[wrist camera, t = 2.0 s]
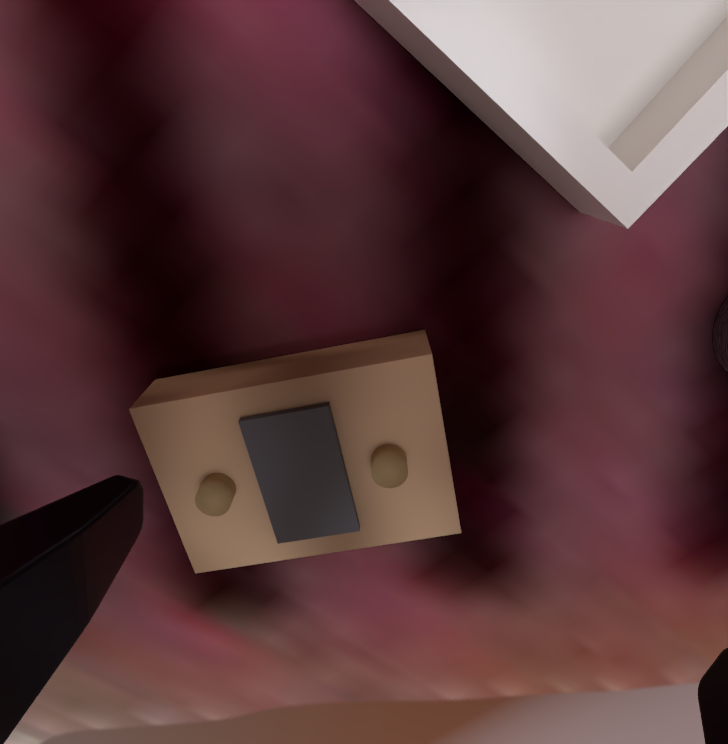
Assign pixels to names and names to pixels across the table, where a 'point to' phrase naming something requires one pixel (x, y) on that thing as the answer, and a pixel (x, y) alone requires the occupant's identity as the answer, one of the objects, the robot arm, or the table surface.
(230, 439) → the block
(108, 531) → the robot arm
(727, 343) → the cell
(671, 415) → the table surface
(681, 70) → the tray
